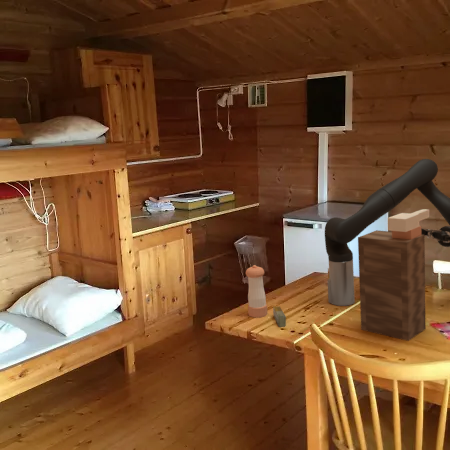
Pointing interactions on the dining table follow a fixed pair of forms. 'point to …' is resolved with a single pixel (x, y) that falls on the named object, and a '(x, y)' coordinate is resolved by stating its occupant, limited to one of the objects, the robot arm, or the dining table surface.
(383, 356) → the dining table surface
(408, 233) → the terracotta block
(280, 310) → the medication box
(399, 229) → the beige long block
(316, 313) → the dining table surface
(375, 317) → the walnut stand
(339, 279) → the robot arm
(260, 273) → the pepper shaker
